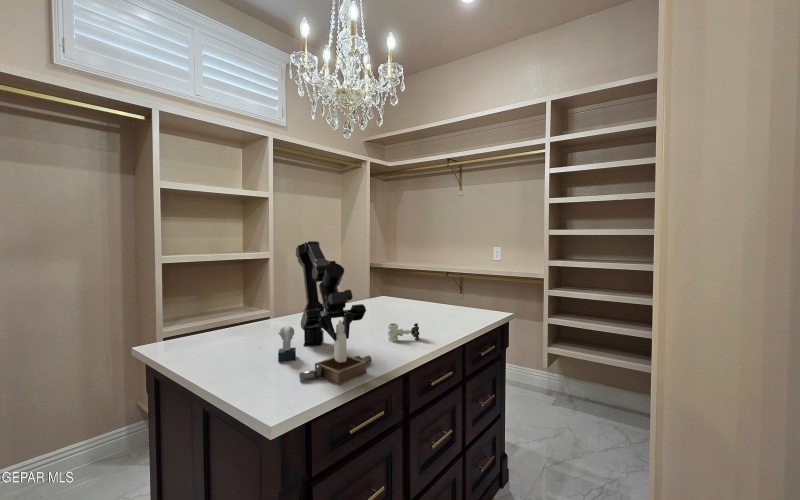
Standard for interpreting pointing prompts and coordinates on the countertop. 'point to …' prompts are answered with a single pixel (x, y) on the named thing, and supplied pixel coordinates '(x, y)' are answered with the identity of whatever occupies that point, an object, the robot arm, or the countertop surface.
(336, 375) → the square brown wooden tray
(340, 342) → the white bottle
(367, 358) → the input shaft
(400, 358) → the countertop surface
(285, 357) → the rubber stamp
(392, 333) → the valve
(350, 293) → the robot arm
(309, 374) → the output shaft
